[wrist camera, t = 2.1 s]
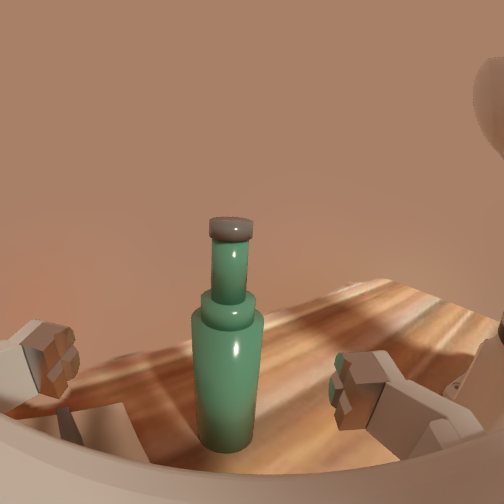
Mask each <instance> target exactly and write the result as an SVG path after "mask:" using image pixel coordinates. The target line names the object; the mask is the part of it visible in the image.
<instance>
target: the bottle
mask: <svg viewBox="0 0 504 504" xmlns="http://www.w3.org/2000/svg"><path fill="white" fill-rule="evenodd" d="M252 234H253V221H252V220H249V219H245V218H238V217H216V218H212V219H210V222H209V236H210V237H211V238H212V264H211V265H212V266H211V289H210V290H207V291H205V292H204V293H203V294H202V295H201V307H200V308H198V309H196V310H195V311H194V312H193V314H192V317H191V326H192V352H193V371H194V388H195V403H196V416H197V428H198V437H199V439H200V441H201V443H202V444H203V445H204V446H205V447H207V448H208V449H210V450H212V451H214V452H218V453H235V452H238V451H241V450H243V449H244V448H246V447H247V446H248V445H249V444H250V442H251V440H252V437H253V429H254V419H255V410H256V400H257V390H258V380H259V369H260V359H261V348H262V338H263V327H264V318H263V316H262V314H261V313H260V312H259V311H258V310H256V309H255V302H256V299H255V296H254V295H253V294H252V293H250V292H249V291H246V282H247V265H248V248H249V239H251V238H252Z"/></svg>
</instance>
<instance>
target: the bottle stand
mask: <svg viewBox="0 0 504 504" xmlns="http://www.w3.org/2000/svg"><path fill="white" fill-rule="evenodd" d="M56 413H57V415H51V416H44V417H36V418H28V419H20V420H17V421H19V422H21V423H24V424H26V425H28V426H30V427H33V428H35V429H37V430H40V431H42V432H45V433H47V434H50V435H53V436H55V437H58V438H61V439H63V440H66V441H69V442H72V443H75V444H78V445H81V446H84V447H87V448H91V449H94V450H98V451H101V452H105V453H108V454H112V455H116V456H120V457H124V458H128V459H133V460H137V461H142V462H147V463H150V461H149V459H148V457H147V455H146V453H145V451H144V449H143V447H142V445H141V443H140V441H139V439H138V437H137V435H136V432H135V430H134V428H133V426H132V424H131V421H130V419H129V417H128V414H127V412H126V410H125V407H124V405H123V402H120V403H115V404H111V405H106V406H101V407H96V408H91V409H86V410H81V411H75V412H71V411H70V409H69V407H68V406H66V407H60V408H56Z"/></svg>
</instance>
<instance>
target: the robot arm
mask: <svg viewBox="0 0 504 504" xmlns="http://www.w3.org/2000/svg"><path fill="white" fill-rule="evenodd" d="M473 105H474V110H475V114H476V118H477V121H478V124H479V126H480V128H481V130H482V132H483V134H484V136H485V137H486V139H487V140H488V142H489V143H490V144H491V146H492V147H493V148H494V149H495V150H496V151H497V152H498V153H499V154H500V156H501V157H502V158H503V159H504V57H498V58H489V59H487V60H486V61H485V62H484V63H483V65H482V66H481V67H480V69H479V71H478V73H477V76H476V78H475V82H474V87H473ZM74 341H75V337H74V333H73V330H72V329H71V328H70V327H66V326H61V325H57V324H54V323H49V322H45V321H41V320H37V319H32V320H31V321H30V322H29V323H27V324H26V325H25V326H24V327H23V328H22V329H20V330H19V331H18V332H17V333H16V334H14V335H13V336H12V337H11V338H10V339H9V340H8V341H7V340H2V341H0V504H504V312H503V315H502V320H501V323H500V325H499V328H498V334H497V335H496V336H494V337H493V338H490V339H485V341H484V342H483V343H481V344H480V346H479V348H478V350H477V352H476V354H475V357H474V359H473V361H472V363H471V365H470V367H469V369H468V370H467V371H466V372H465V373H463V374H462V375H461V376H459V377H458V378H457V379H455V380H454V381H453V382H451V383H450V384H449V385H447V386H446V388H445V389H444V391H443V393H442V395H443V396H441V395H439V394H437V393H435V392H433V391H431V390H429V389H427V388H425V387H423V386H421V385H419V384H417V383H415V382H414V381H412V380H406V379H405V378H404V376H403V375H402V373H401V372H400V370H399V369H398V367H397V366H396V364H395V363H394V361H393V360H392V358H391V357H390V355H389V354H388V352H387V351H385V350H379V351H369V352H349V353H338V354H337V356H336V359H335V363H334V365H335V368H336V370H337V371H336V372H335V373H334V374H333V375H331V378H330V382H329V400H330V403H331V405H332V406H333V407H334V408H336V411H335V414H334V416H335V420H336V423H337V426H338V429H339V431H343V430H357V429H366V431H368V432H369V433H370V434H371V435H372V436H373V437H374V438H376V439H377V440H378V441H379V442H380V443H381V444H383V445H384V446H385V447H386V448H387V449H388V450H390V451H391V452H392V453H393V454H394V455H395V456H397V457H398V458H399V459H400V460H401V461H397V462H392V463H387V464H382V465H376V466H370V467H364V468H357V469H350V470H342V471H333V472H322V473H308V474H283V475H257V474H232V473H218V472H207V471H198V470H190V469H182V468H175V467H169V466H163V465H157V464H152V463H147V462H142V461H137V460H133V459H128V458H124V457H120V456H116V455H112V454H108V453H105V452H101V451H98V450H94V449H91V448H87V447H84V446H81V445H78V444H75V443H72V442H69V441H66V440H63V439H61V438H58V437H55V436H53V435H50V434H47V433H45V432H42V431H40V430H37V429H35V428H33V427H30V426H28V425H26V424H24V423H21V422H19V421H17V420H15V419H13V418H11V417H9V416H6V415H4V414H5V413H7V412H8V411H10V410H12V409H13V408H15V407H17V406H19V405H20V404H22V403H24V402H26V401H27V400H29V399H31V398H33V397H34V396H36V395H38V393H41V394H44V395H47V396H50V397H54V398H57V399H60V397H61V396H62V394H63V393H64V391H65V390H66V389H67V387H68V384H67V381H69V380H71V379H73V378H74V377H75V376H76V374H77V373H78V369H79V365H80V362H79V354H78V351H77V350H76V348H75V347H74V346H73V343H74Z"/></svg>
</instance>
